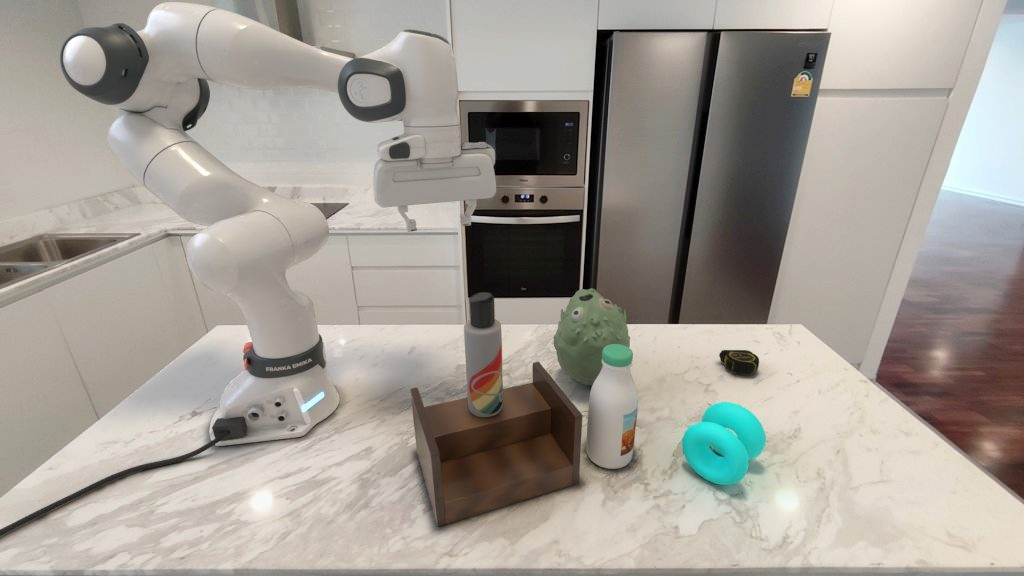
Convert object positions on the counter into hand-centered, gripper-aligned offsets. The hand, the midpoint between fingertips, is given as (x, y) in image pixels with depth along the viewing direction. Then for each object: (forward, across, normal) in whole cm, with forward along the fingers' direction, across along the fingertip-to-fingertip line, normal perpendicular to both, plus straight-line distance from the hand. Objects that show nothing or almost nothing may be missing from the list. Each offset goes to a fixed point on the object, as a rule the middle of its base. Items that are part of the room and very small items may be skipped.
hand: (439, 228), depth 82 cm
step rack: (+35, -2, +21) cm, 41 cm away
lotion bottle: (+26, -2, +17) cm, 31 cm away
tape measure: (+35, -61, +12) cm, 72 cm away
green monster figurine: (+35, -29, +4) cm, 46 cm away
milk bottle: (+35, -21, +25) cm, 48 cm away
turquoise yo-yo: (+35, -36, +34) cm, 61 cm away
